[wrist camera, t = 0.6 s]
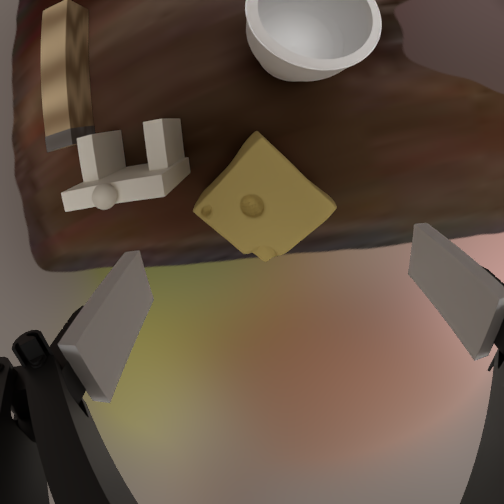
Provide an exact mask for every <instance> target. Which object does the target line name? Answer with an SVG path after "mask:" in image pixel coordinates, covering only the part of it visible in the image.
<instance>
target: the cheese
mask: <svg viewBox="0 0 504 504" xmlns="http://www.w3.org/2000/svg"><path fill="white" fill-rule="evenodd" d="M336 208H337V207H336V204H335V202H334V201H333V199H332V198H331V197H330V196H329V195H327V194H326V193H325V192H323V191H322V190H321V189H319V188H318V187H317V186H316V185H314V184H313V183H312V182H311V181H309V180H308V179H307V178H306V177H305V176H304V175H303V174H302V173H301V172H300V171H299V170H298V169H297V168H296V167H295V166H294V165H293V164H292V163H291V162H290V161H289V160H288V159H287V158H286V157H285V156H284V155H283V154H281V153H280V152H279V151H278V150H277V149H276V148H275V147H274V146H273V145H272V144H271V143H270V142H269V141H268V140H267V139H266V138H265V137H264V136H262V135H261V134H260V133H259V132H258V131H255V132H254V133H253V134H252V135H251V136H250V137H249V138H248V139H247V140H246V141H245V143H244V144H243V145H242V147H241V148H240V150H239V152H238V153H237V154H236V156H235V157H234V159H233V160H232V161H231V163H230V164H229V165H228V166H227V168H226V169H225V170H224V171H223V172H222V173H221V174H220V175H219V176H218V177H217V178H216V179H215V180H214V181H213V182H212V183H211V184H210V185H209V186H208V187H207V188H206V189H205V190H204V191H203V192H202V194H201V196H200V197H199V199H198V201H197V202H196V204H195V206H194V209H193V212H194V213H195V214H196V215H198V216H199V217H200V218H201V219H202V220H203V221H205V222H206V223H207V224H208V225H210V226H211V227H212V228H213V229H214V230H215V231H217V232H218V233H219V234H220V235H222V236H223V237H224V238H225V239H227V240H228V241H229V242H230V243H231V244H233V245H234V246H235V247H236V248H237V249H238V250H239V251H241V252H242V253H244V254H249V253H251V252H252V253H254V254H255V255H257V256H258V257H259V258H260V259H261V260H262V261H264V262H267V261H268V260H270V259H271V258H273V257H275V256H281V255H283V254H285V253H286V252H288V251H289V250H290V249H292V248H293V247H294V246H295V245H296V244H298V243H299V242H300V241H301V240H302V239H304V238H305V237H306V236H307V235H308V234H310V233H311V232H312V231H314V230H315V229H316V228H317V227H318V226H320V225H321V224H322V223H323V222H324V221H325V220H327V219H328V218H329V217H330V216H331V214H332V213H333V212H334V211H335V210H336Z"/></svg>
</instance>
